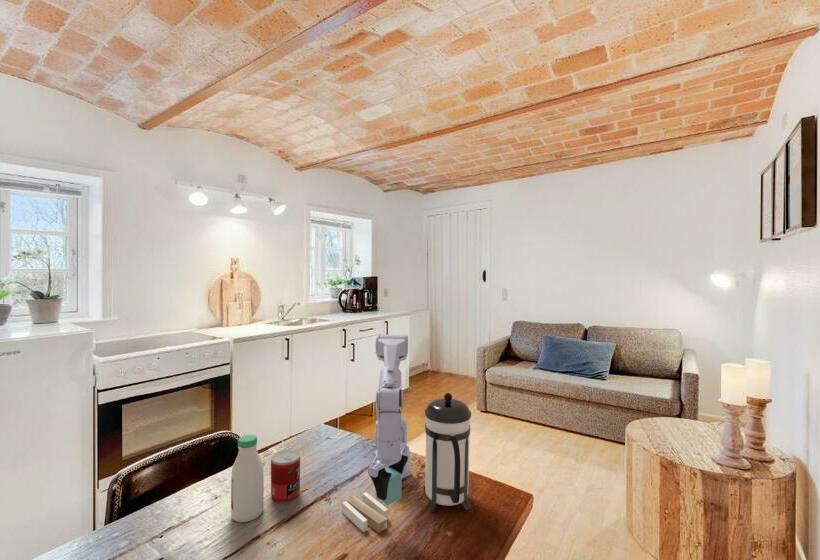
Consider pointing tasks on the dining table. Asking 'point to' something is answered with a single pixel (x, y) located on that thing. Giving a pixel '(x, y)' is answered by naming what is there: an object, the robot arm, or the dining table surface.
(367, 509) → the rod
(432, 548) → the dining table surface
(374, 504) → the channel
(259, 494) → the milk bottle
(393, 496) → the block
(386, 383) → the robot arm
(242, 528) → the dining table surface
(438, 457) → the coffee press
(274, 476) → the canned food
